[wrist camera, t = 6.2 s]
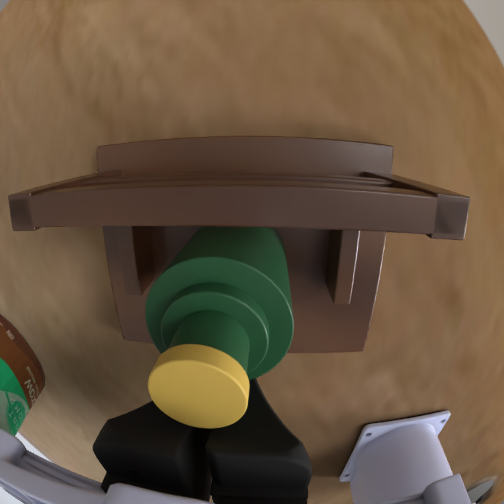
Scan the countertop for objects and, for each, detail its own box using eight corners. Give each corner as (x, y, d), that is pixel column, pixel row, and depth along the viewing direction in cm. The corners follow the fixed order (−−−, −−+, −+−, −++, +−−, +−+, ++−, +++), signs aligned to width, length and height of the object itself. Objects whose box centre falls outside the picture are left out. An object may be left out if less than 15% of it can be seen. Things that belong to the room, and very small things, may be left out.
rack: (361, 345, 16) (395, 439, 9) (127, 334, 17) (73, 414, 10) (389, 145, 12) (479, 150, 6) (102, 146, 13) (1, 156, 7)
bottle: (283, 300, 15) (290, 456, 6) (194, 296, 15) (128, 437, 7) (287, 211, 13) (313, 317, 5) (189, 210, 13) (80, 301, 5)
